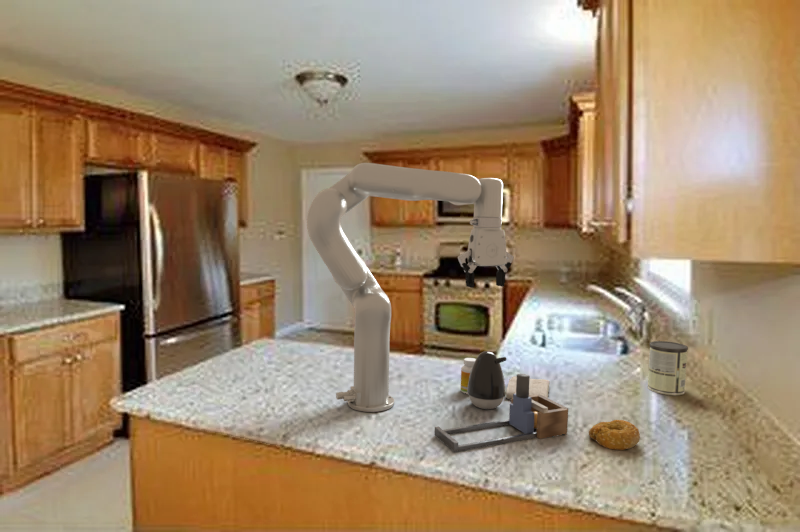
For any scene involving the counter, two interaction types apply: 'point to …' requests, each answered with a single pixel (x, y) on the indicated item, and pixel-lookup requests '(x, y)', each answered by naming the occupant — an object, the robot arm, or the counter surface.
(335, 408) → the counter surface
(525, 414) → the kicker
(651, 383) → the coffee can
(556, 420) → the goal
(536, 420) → the ball
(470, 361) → the supplement bottle
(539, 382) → the washcloth
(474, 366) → the pump dispenser
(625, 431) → the bagel
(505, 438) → the track
